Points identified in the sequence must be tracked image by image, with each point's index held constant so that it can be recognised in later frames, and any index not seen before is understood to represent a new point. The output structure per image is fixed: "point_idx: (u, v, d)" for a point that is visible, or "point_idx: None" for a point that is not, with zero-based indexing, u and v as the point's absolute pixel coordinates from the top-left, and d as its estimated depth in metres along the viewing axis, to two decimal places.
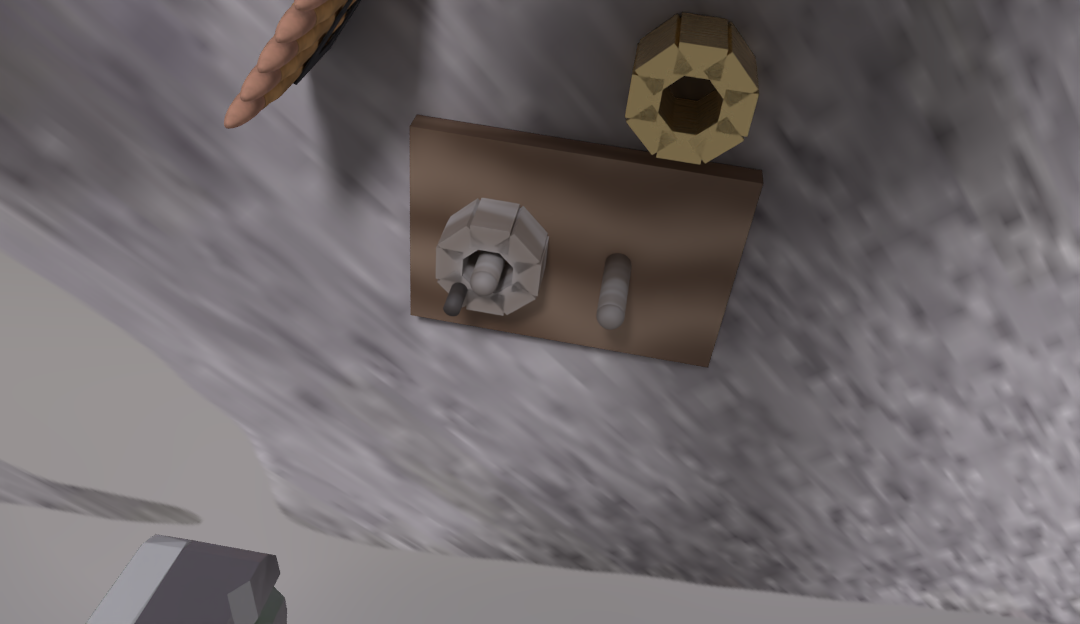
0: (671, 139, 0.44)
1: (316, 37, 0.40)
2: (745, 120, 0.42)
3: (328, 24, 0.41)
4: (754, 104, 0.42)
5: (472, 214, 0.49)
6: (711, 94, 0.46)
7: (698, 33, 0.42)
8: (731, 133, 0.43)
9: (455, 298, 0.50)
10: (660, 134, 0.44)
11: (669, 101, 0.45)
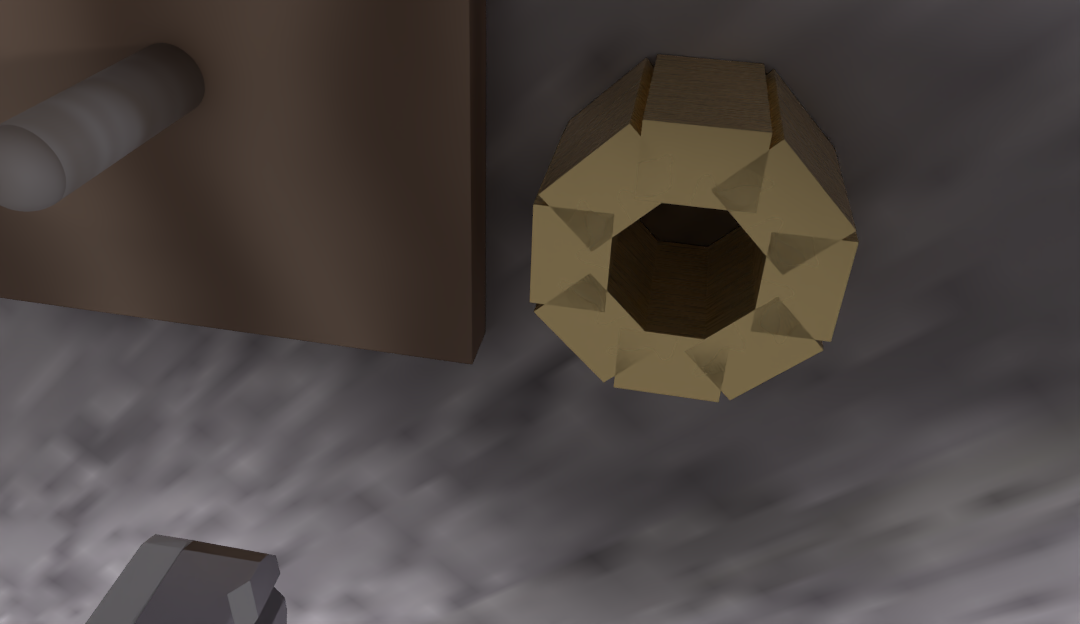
0: (589, 237, 0.17)
1: None
2: (653, 382, 0.19)
3: None
4: (694, 396, 0.19)
5: None
6: (647, 235, 0.21)
7: None
8: (617, 356, 0.19)
9: None
10: (600, 211, 0.17)
11: None
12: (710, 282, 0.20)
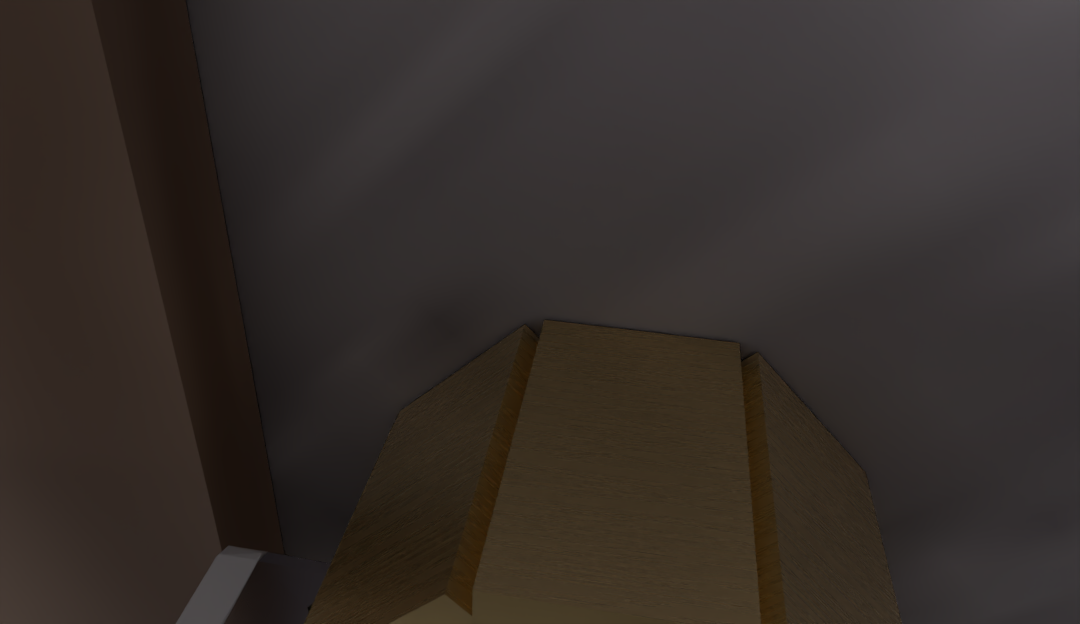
0: None
1: None
2: None
3: None
4: None
5: None
6: None
7: None
8: None
9: None
10: None
11: None
12: None
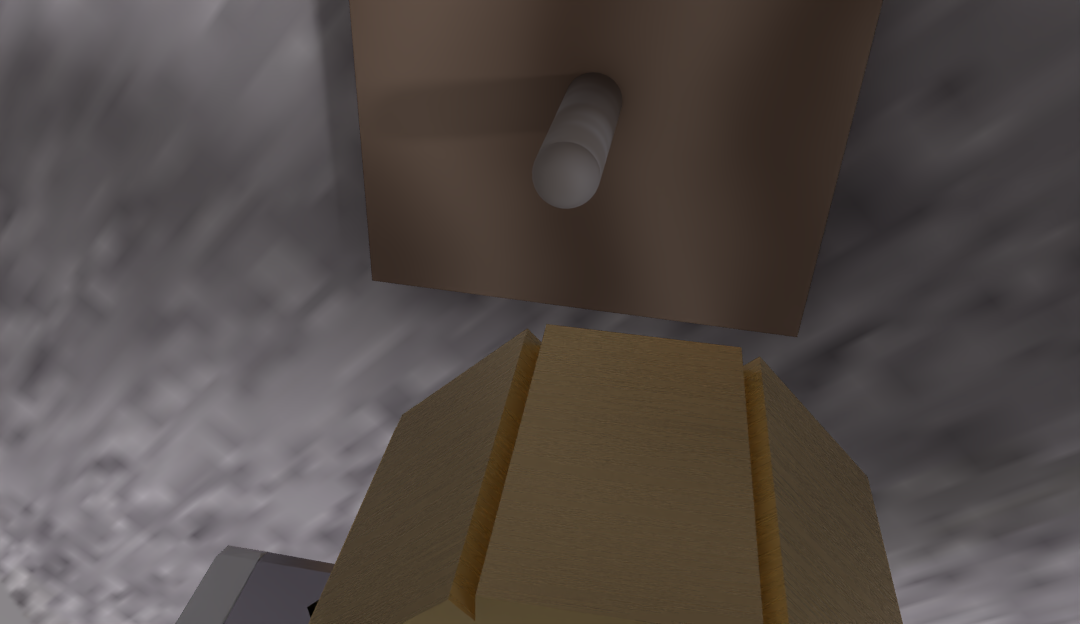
0: None
1: None
2: None
3: None
4: None
5: None
6: None
7: None
8: None
9: None
10: None
11: None
12: None
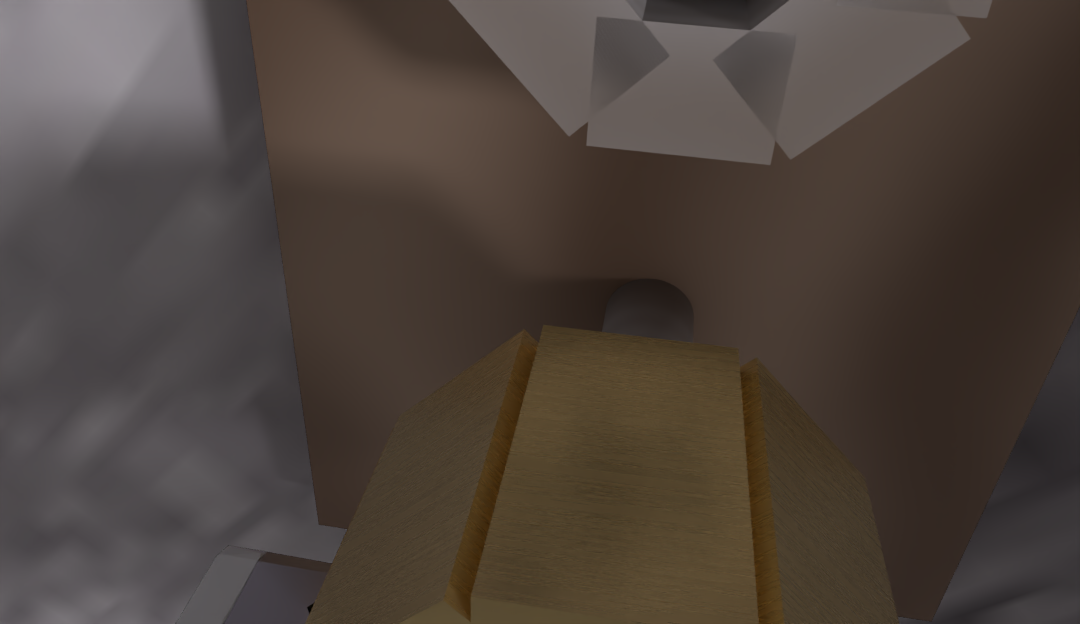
0: None
1: None
2: None
3: None
4: None
5: None
6: None
7: None
8: None
9: None
10: None
11: None
12: None
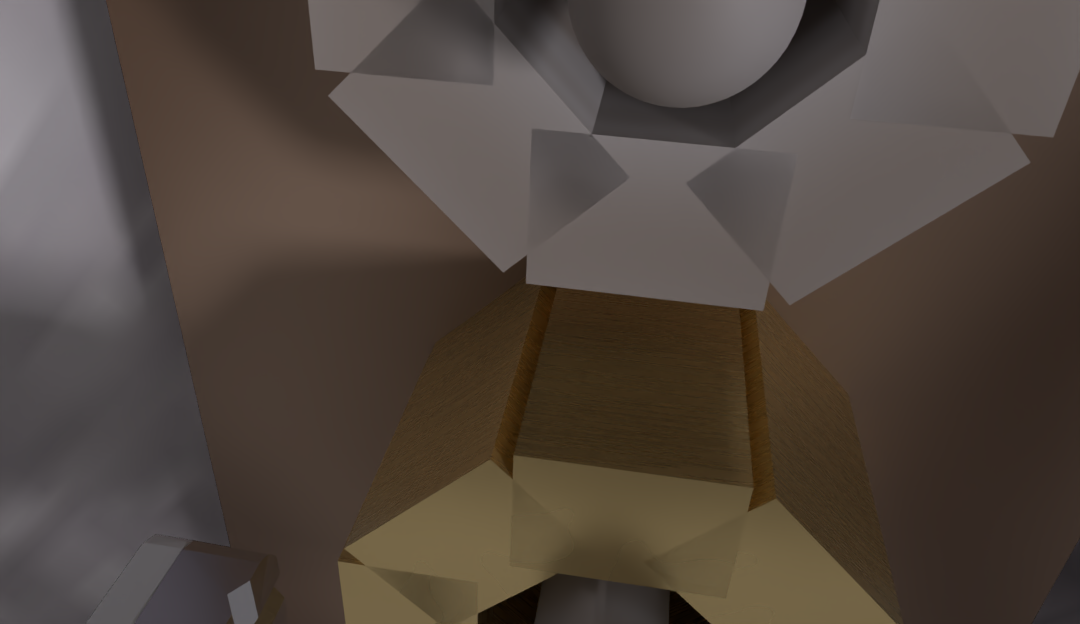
0: (439, 610, 0.10)
1: None
2: None
3: None
4: None
5: None
6: None
7: None
8: None
9: None
10: (453, 577, 0.09)
11: None
12: None
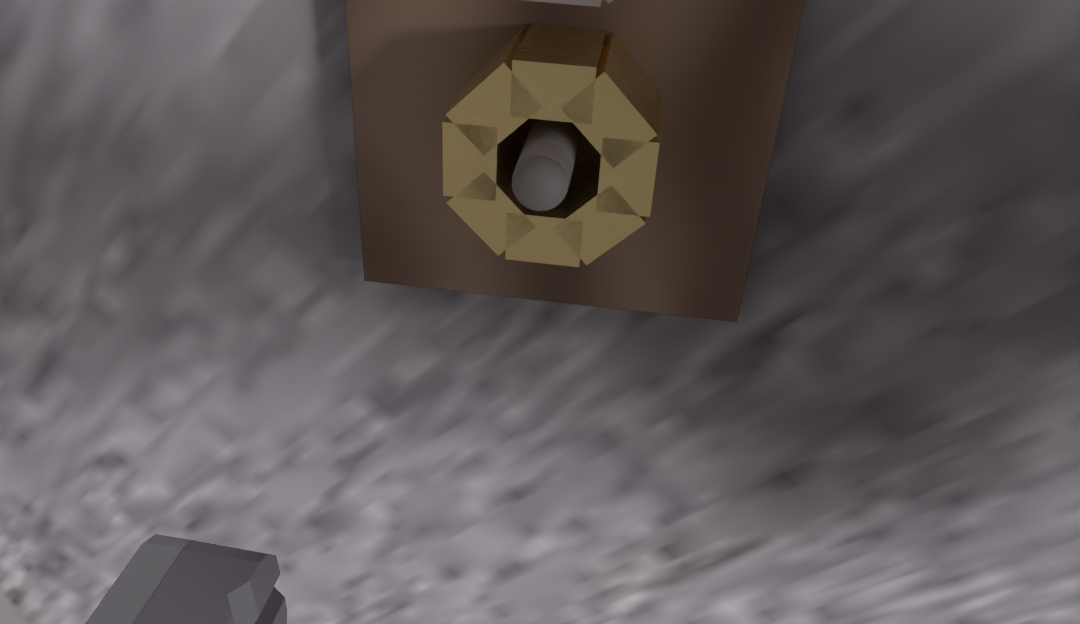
0: (481, 145, 0.25)
1: None
2: (533, 253, 0.26)
3: None
4: (561, 263, 0.26)
5: None
6: None
7: None
8: (506, 235, 0.26)
9: None
10: (488, 125, 0.24)
11: None
12: (574, 186, 0.27)
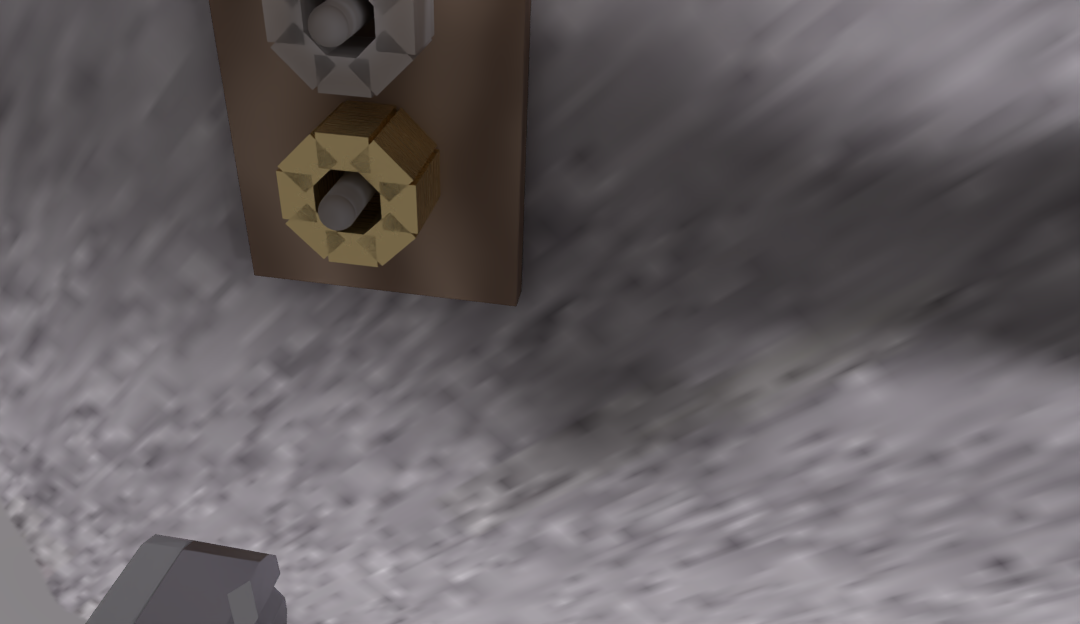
0: (303, 185, 0.37)
1: None
2: (346, 257, 0.39)
3: None
4: (365, 264, 0.39)
5: None
6: None
7: (425, 190, 0.38)
8: (328, 245, 0.39)
9: None
10: (305, 173, 0.37)
11: None
12: (380, 211, 0.40)
